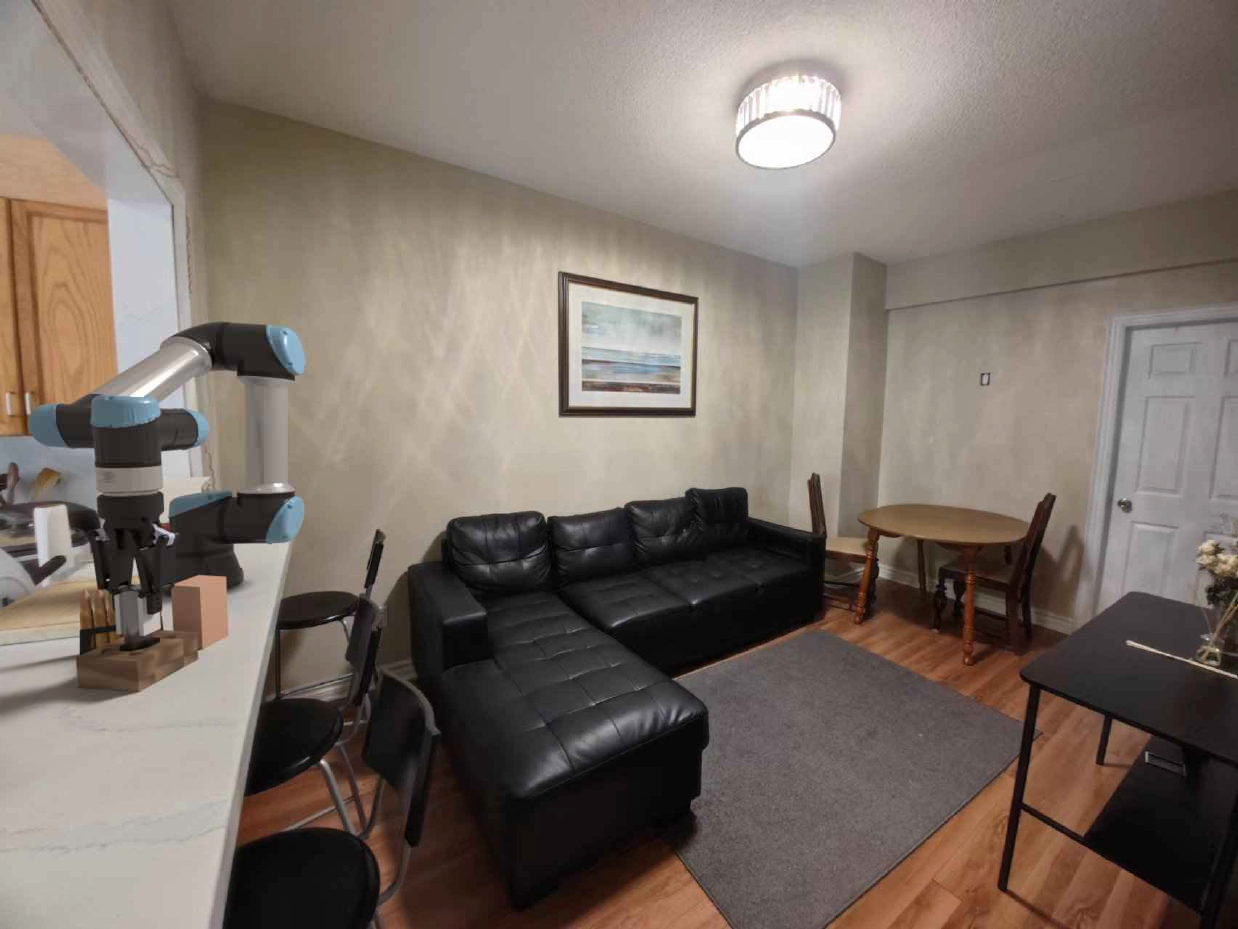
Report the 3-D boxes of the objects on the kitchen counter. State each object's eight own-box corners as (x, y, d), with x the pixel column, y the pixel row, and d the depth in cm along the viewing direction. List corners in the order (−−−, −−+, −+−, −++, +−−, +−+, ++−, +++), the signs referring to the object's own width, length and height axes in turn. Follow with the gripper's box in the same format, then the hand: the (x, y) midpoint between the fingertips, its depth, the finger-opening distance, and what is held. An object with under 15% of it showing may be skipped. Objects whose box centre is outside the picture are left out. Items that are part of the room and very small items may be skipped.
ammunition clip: (79, 658, 83) (74, 592, 81) (84, 653, 84) (79, 588, 83) (162, 645, 88) (158, 583, 87) (165, 640, 90) (161, 580, 88)
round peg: (141, 652, 80) (137, 584, 79) (160, 653, 80) (156, 585, 79) (119, 662, 77) (114, 592, 76) (139, 664, 77) (135, 593, 76)
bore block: (144, 655, 84) (142, 628, 84) (198, 659, 84) (196, 632, 83) (78, 687, 74) (75, 657, 74) (139, 691, 74) (137, 661, 73)
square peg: (201, 634, 93) (198, 575, 92) (228, 635, 93) (226, 576, 91) (174, 647, 87) (170, 585, 86) (202, 649, 87) (199, 587, 86)
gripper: (54, 493, 72) (64, 638, 75) (155, 498, 72) (163, 645, 74) (108, 486, 80) (116, 618, 82) (201, 491, 79) (206, 624, 82)
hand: (139, 631), depth 78 cm, fingers closed on round peg, 3 cm apart
